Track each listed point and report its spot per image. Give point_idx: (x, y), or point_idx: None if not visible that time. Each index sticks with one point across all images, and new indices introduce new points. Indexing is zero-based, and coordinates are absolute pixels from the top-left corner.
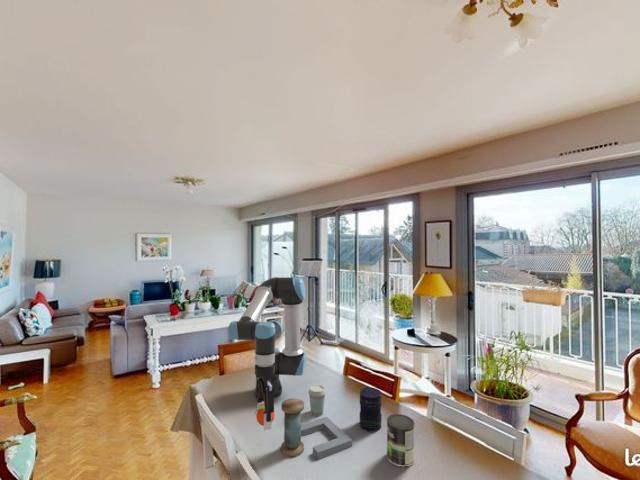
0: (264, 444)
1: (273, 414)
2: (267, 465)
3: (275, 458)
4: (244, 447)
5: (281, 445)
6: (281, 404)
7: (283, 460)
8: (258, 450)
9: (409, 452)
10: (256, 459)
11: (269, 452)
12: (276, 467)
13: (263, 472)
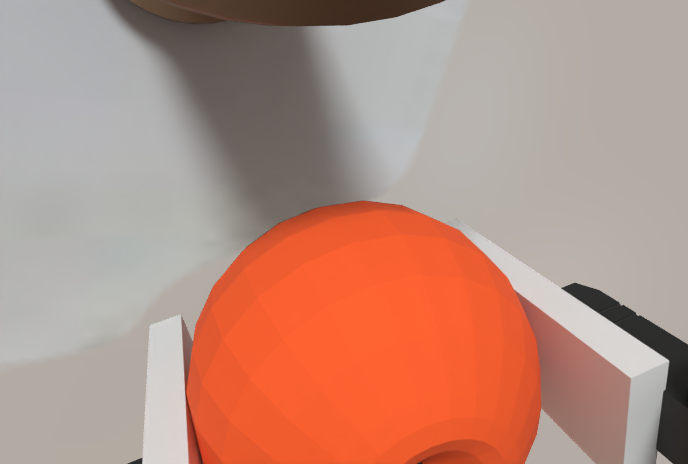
0: (56, 165)
1: (477, 252)
2: (334, 156)
3: (275, 88)
4: (82, 322)
5: (162, 13)
6: (232, 15)
7: (315, 26)
8: (142, 217)
9: None
10: (252, 229)
11: (187, 129)
12: (372, 94)
13: (389, 184)
